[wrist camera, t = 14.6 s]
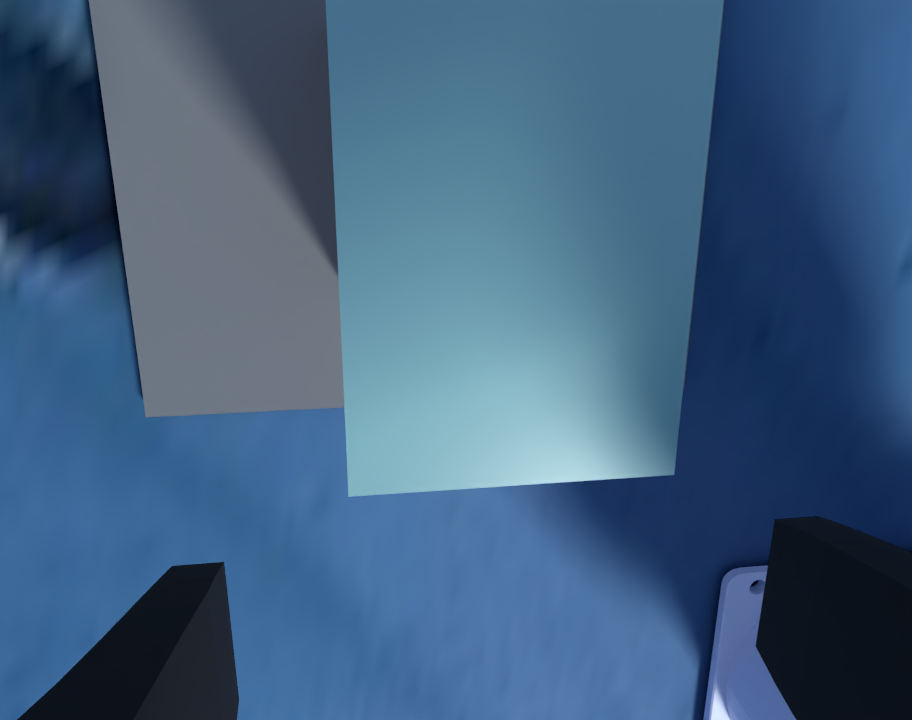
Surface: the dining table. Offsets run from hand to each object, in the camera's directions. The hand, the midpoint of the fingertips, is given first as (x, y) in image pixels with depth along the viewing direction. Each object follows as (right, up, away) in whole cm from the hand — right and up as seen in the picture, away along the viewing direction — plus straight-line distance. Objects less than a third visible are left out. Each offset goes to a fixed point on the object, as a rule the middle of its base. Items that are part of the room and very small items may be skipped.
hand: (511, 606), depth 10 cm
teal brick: (-1, +6, +3) cm, 7 cm away
